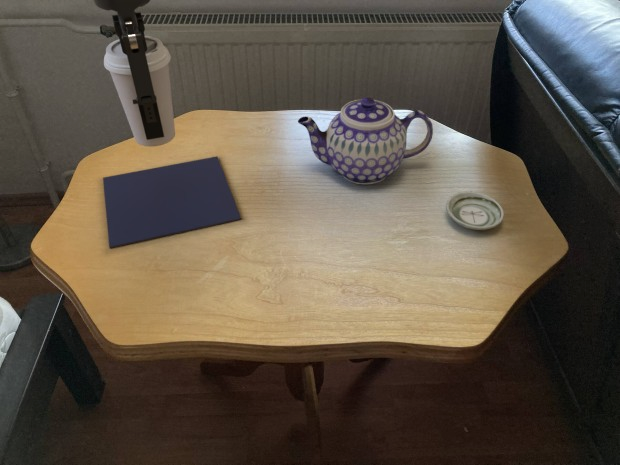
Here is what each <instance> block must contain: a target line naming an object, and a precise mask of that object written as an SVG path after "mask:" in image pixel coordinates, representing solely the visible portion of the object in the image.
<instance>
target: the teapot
mask: <svg viewBox="0 0 620 465" xmlns="http://www.w3.org/2000/svg"><path fill="white" fill-rule="evenodd" d="M415 119H421V120H422V121H424V123H425V125H426V135H425V137H424V140H423V141H422V142H421V143H420V144H418V145H417V146H415V147H413V148H411V149H407V137H408V136H407V134H408V130H409V127H410V125H411V123H412V121H413V120H415ZM297 123H298V124H300V125H302V126H303V127H305V128H306V130H307V132H308V136H309V140H310V141H309V142H310V146H311V149H312V152H313V154H314V156H315V158H317V160H319V161H320V162H322V163H323V164H326V165H329V166H330V167H331V168H332V169H334V170H335V171H336V172H337V173H338V174H339V175H340V176H342V177H343V178H344V179H345V180H347V181H348V182H350V183H353V184H356V185H357V184H358V185H373V184H377V183H381V182H383V181H384V180H386V178H387V177H389V176H390V175H392V174H393V173H394V172H395V171H397V169H399V167H400V166H401V164H402V162H403V160H404V159H409V158H412V157H415V156H417V155H419V154H420V153H422V152H424V151H425V150H426V149H427V148H428V146H429V145H430V144H431V141H432V139H433V135H434V126H433V123H432V121H431V120H430V118H429V117H428V116H427V114H426V113H424V112H423V111H422V110H418V109H416V110H413V111H412V112H410V113H408V114H407V115H406V116H405V117H404V118H399V116H397V114H396V113H395V111H394V109H393V107H391V105H389V104H388V103H386V102H383V101H381V100H377V99H374V98H373V97H370V96H367V97H363V98H361V99H355V100H351V101H348V102H347V103H345V104H344V105H343V106H342V107H341V109H340V112H338V113H337V114H336V115H334V117H333V118H332V119H331V121H330V122H329V123H328V126H327V128H326V129H325V130H324V131H322V130H320V127H319V126H318V125H317V123H316V121H315V120H314V119H313V118H312V117H310V116H308V115H307V116H306V115H305V116H301V117H300V118H299V119H298V120H297Z"/></svg>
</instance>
